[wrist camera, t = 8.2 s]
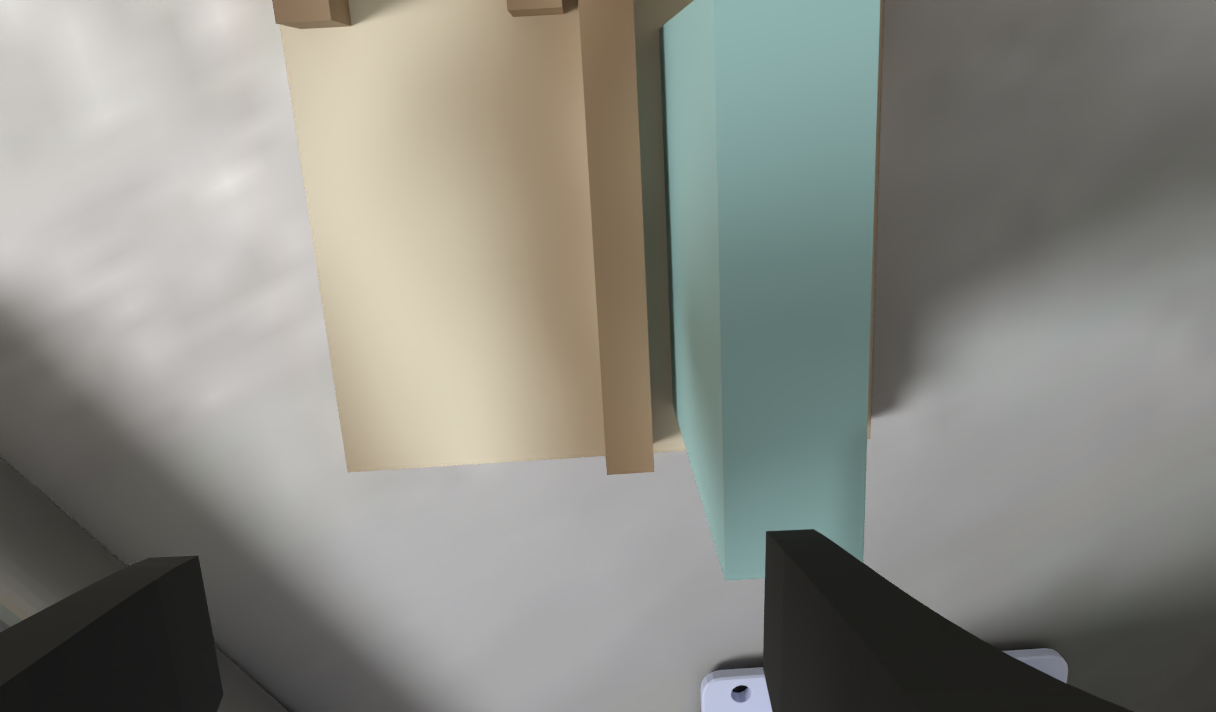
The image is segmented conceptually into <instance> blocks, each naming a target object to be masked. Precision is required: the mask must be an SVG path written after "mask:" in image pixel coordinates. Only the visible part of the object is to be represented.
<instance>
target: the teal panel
mask: <svg viewBox="0 0 1216 712" xmlns="http://www.w3.org/2000/svg"><path fill="white" fill-rule="evenodd" d="M879 27H880V0H694V1H693V2H691V3H690V4H689V5H688V6H687V7H685V8H684V9H683V10H682V11H680V12H679V13H678V14H677V15H675V16H674V17H673V18H672V19H670V20H669V21H668V22H667V23H666V24H664V25H663V26H662V27H661V28H659V41H660V68H661V96H662V123H663V150H664V178H665V205H666V232H667V260H668V287H669V314H670V341H671V369H672V396H673V407H674V411H675V414H676V417H677V421H678V424H679V427H680V431H681V434H682V437H683V441H684V444H685V447H686V451H687V454H688V457H689V461H690V464H691V467H692V471H693V474H694V477H695V481H696V484H697V487H698V491H699V494H700V497H701V501H702V504H703V507H704V511H705V514H706V517H707V521H708V524H709V527H710V531H711V534H712V538H713V541H714V544H715V548H716V551H717V554H718V558H719V561H720V564H721V568H722V571H723V574H724V578H725V580H741V579H756V578H765V555H766V531H781V530H804V529H814V530H816V531H818V532H819V533H821V534H823V535H824V536H826V537H827V538H829V539H830V540H832V541H833V542H834V543H836V544H837V545H839V546H840V547H841V548H843V549H844V550H846V551H847V552H848V553H850V554H851V555H853V556H854V557H855V558H857V559H858V560H860V561H861V562H862V563H863V552H864V519H865V486H866V453H867V421H868V388H869V355H870V322H871V290H872V257H873V224H874V191H875V158H876V126H877V93H878V60H879Z"/></svg>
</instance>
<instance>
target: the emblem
mask: <svg viewBox="0 0 1216 712" xmlns="http://www.w3.org/2000/svg"><path fill="white" fill-rule="evenodd" d="M124 568H126V566H125V565H124V564H122V563H121V562H120V561H119V560H118V559H117V558H116V557H114V556H113V555H112V554H111V553H110V552H109V551H108V550H106V549H105V548H104V547H103V546H102V545H101V544H100V543H98V542H97V541H96V540H95V539H94V538H93V537H92V536H90V535H89V534H88V533H87V532H86V531H85V530H84V529H83V528H81V527H80V526H79V525H78V524H77V523H76V522H75V521H73V520H72V519H71V518H70V517H69V516H68V515H67V514H65V513H64V512H63V511H62V510H61V509H60V508H59V507H57V506H56V505H55V504H54V503H53V502H52V501H51V500H49V499H48V498H47V497H46V496H45V495H44V494H43V493H41V492H40V491H39V490H38V489H37V488H36V487H34V486H33V485H32V484H31V483H30V482H29V481H28V480H26V479H25V478H24V477H23V476H22V475H21V474H19V473H18V472H17V471H16V470H15V469H14V468H12V467H11V466H10V465H9V464H8V463H7V462H6V461H4V460H3V459H2V458H1V457H0V632H2V631H4V630H6V629H7V628H9V627H11V626H13V625H15V624H17V623H19V622H21V621H23V620H24V619H26V618H28V617H30V616H32V615H34V614H36V613H38V612H40V611H41V610H43V609H45V608H47V607H49V606H51V605H53V604H55V603H57V602H59V601H60V600H62V599H64V598H66V597H68V596H70V595H72V594H74V593H76V592H77V591H79V590H81V589H83V588H85V587H87V586H89V585H91V584H93V583H95V582H97V581H99V580H101V579H103V578H105V577H107V576H109V575H111V574H113V573H115V572H117V571H119V570H122V569H124ZM215 650H216V656H217V661H218V667H219V672H220V678H221V683H222V689H223V697H222V700H221V702H220V705H219V708H218V711H217V712H288V711H287V710H286V709H285V708H284V707H283V706H282V705H281V704H280V703H278V702H277V701H276V700H275V699H274V698H273V697H272V696H271V695H269V694H268V693H267V692H266V691H265V690H264V689H263V688H262V687H260V686H259V685H258V684H257V683H256V682H255V681H254V680H253V679H252V678H250V677H249V676H248V675H247V674H246V673H245V672H244V671H243V670H241V669H240V668H239V667H238V666H237V665H236V664H235V663H234V662H233V661H231V660H230V659H229V658H228V657H227V656H226V655H225V654H224V653H222V652H221V651H220V650H219V649H218V648H217V647H216V646H215Z"/></svg>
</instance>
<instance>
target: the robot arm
mask: <svg viewBox="0 0 1216 712" xmlns="http://www.w3.org/2000/svg"><path fill="white" fill-rule="evenodd" d="M1067 677H1068V665H1067V663H1066V662H1065V660H1064V659H1063V658H1062V657H1061V655H1060V654H1059V653H1058V652H1057V651H1055V650H1053V649H1047V648H1041V649H1026V650H1011V651H1001V650H999V649H997V648H995V647H993V646H991V645H990V644H988V643H986V642H984V641H982V640H981V639H979V638H977V637H976V636H974V635H972V634H971V633H969V632H967V631H966V630H964V629H962V628H961V627H959V626H957V625H956V624H954V623H952V622H951V621H949V620H947V619H946V618H944V617H942V616H941V615H939V614H938V613H936V612H934V611H933V610H931V609H930V608H928V607H927V606H925V605H923V604H922V603H920V602H919V601H917V600H916V599H914V598H913V597H911V596H910V595H908V594H907V593H905V592H904V591H902V590H901V589H899V588H898V587H897V586H895V585H894V584H892V583H891V582H889V581H888V580H886V579H885V578H884V577H882V576H881V575H879V574H878V573H876V572H875V571H874V570H872V569H871V568H869V567H868V566H867V565H865V564H864V563H862V562H861V561H860V560H858V559H857V558H855V557H854V556H853V555H851V554H850V553H848V552H847V551H846V550H844V549H843V548H841V547H840V546H839V545H837V544H836V543H834V542H833V541H832V540H830V539H829V538H827V537H826V536H824V535H823V534H821V533H819V532H818V531H816V530H814V529H804V530H781V531H766V555H765V604H764V653H763V667H758V668H743V669H728V670H718V671H713V672H711V673H709V674H708V675H706V676H705V678H704V679H703V680H702V683H701V712H1133V711H1130V710H1128V709H1125V708H1123V707H1120V706H1118V705H1115V704H1113V703H1111V702H1108V701H1106V700H1103V699H1101V698H1098V697H1096V696H1094V695H1091V694H1089V693H1087V692H1085V691H1082V690H1080V689H1078V688H1076V687H1073V686H1071V685H1069V684H1067ZM739 685H744V686H747V689H746V690H744V691H743V692H739V693H737V692H733V691H732V690H733V689H734V688H735V687H736V686H739ZM222 697H223V689H222V683H221V678H220V672H219V667H218V661H217V656H216V650H215V645H214V640H213V634H212V629H211V623H210V618H209V612H208V607H207V601H206V596H205V590H204V585H203V580H202V574H201V569H200V563H199V558H198V556H184V557H161V558H148V559H146V560H143V561H140V562H138V563H135V564H133V565H130V566H128V567H126V568H124V569H122V570H119V571H117V572H115V573H113V574H111V575H109V576H107V577H105V578H103V579H101V580H99V581H97V582H95V583H93V584H91V585H89V586H87V587H85V588H83V589H81V590H79V591H77V592H76V593H74V594H72V595H70V596H68V597H66V598H64V599H62V600H60V601H59V602H57V603H55V604H53V605H51V606H49V607H47V608H45V609H43V610H41V611H40V612H38V613H36V614H34V615H32V616H30V617H28V618H26V619H24V620H23V621H21V622H19V623H17V624H15V625H13V626H11V627H9V628H7V629H6V630H4V631H2V632H0V712H217V711H218V708H219V705H220V702H221V700H222Z"/></svg>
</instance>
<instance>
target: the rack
mask: <svg viewBox="0 0 1216 712" xmlns="http://www.w3.org/2000/svg"><path fill="white" fill-rule="evenodd" d="M272 1H273V8H274V14H275V21H276V24H280V30H281V36H282V43H283V50H284V56H285V63H286V69H287V76H288V82H289V89H290V96H291V102H292V109H293V115H294V122H295V128H296V135H297V142H298V148H299V155H300V161H301V168H302V174H303V181H304V188H305V194H306V201H307V207H308V214H309V220H310V227H311V234H312V240H313V247H314V253H315V260H316V267H317V273H318V280H319V286H320V293H321V299H322V306H323V313H324V319H325V326H326V332H327V339H328V345H329V352H330V359H331V365H332V372H333V378H334V385H335V391H336V398H337V405H338V411H339V418H340V424H341V431H342V438H343V444H344V451H345V457H346V464H347V470H348V472H359V471H374V470H390V469H406V468H421V467H437V466H453V465H468V464H484V463H500V462H515V461H531V460H547V459H562V458H578V457H594V456H606V466H607V475H612V474H627V473H643V472H654V457H653V453H657V452H672V451H686V447H685V444H684V441H683V437H682V434H681V431H680V427H679V424H678V421H677V417H676V414H675V411H674V407H673V396H672V369H671V341H670V314H669V287H668V260H667V232H666V205H665V178H664V150H663V123H662V96H661V68H660V41H659V28H661V27H662V26H663V25H664V24H666V23H667V22H668V21H669V20H670V19H672V18H673V17H674V16H675V15H677V14H678V13H679V12H680V11H682V10H683V9H684V8H685V7H687V6H688V5H689V4H690V3H691V2H693V1H694V0H272ZM883 16H884V0H880V27H879V60H878V93H877V126H876V158H875V191H874V224H873V257H872V290H871V322H870V355H869V388H868V421H867V439H870V428H871V397H872V365H873V333H874V302H875V270H876V238H877V206H878V175H879V143H880V111H881V79H882V48H883Z"/></svg>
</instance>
